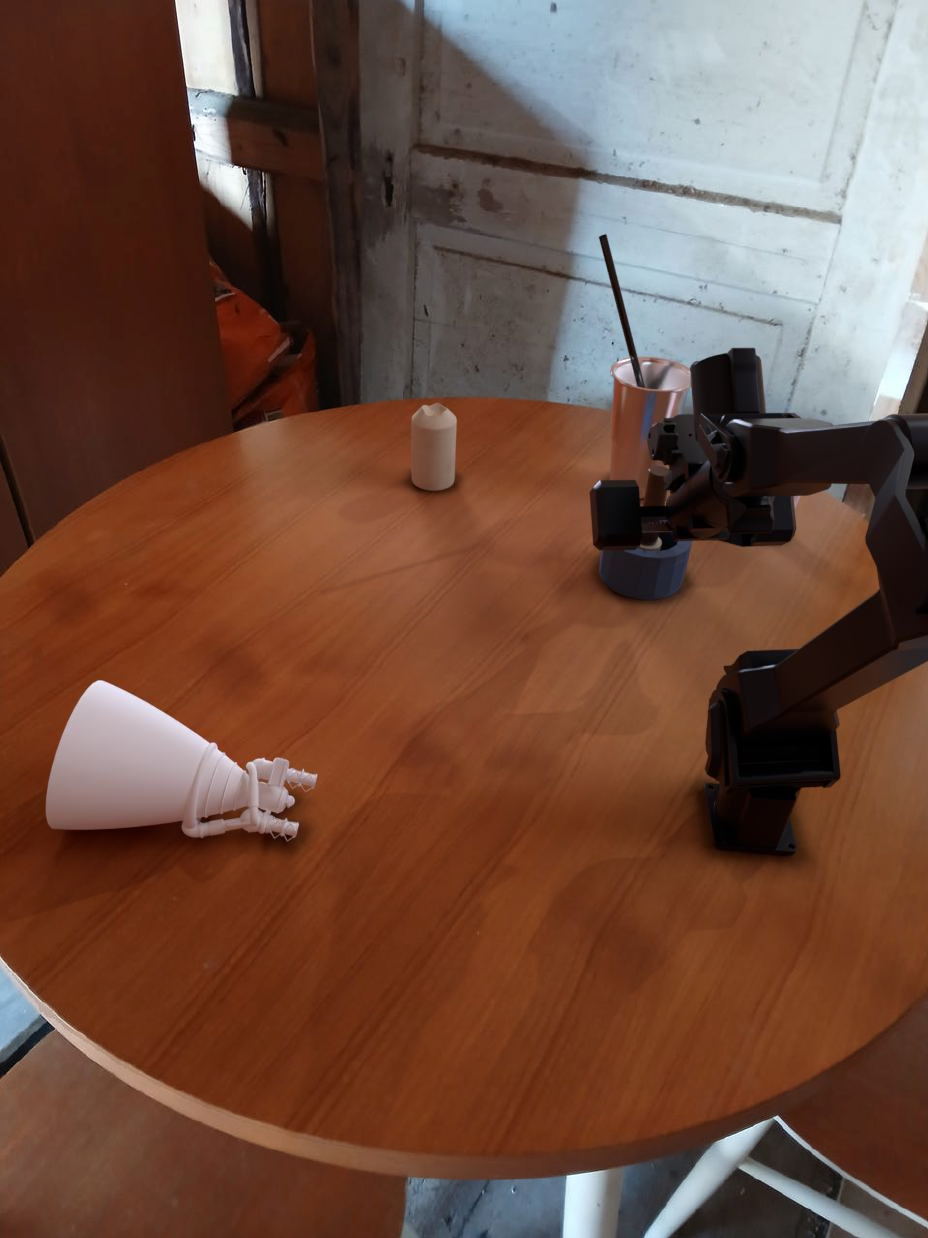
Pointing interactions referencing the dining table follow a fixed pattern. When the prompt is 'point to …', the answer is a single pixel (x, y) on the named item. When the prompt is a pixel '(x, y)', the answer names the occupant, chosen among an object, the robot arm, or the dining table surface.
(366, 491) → the dining table surface
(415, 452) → the candle
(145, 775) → the rocket engine
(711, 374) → the robot arm
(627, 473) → the glass
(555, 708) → the dining table surface
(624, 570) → the jar
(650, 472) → the pestle
